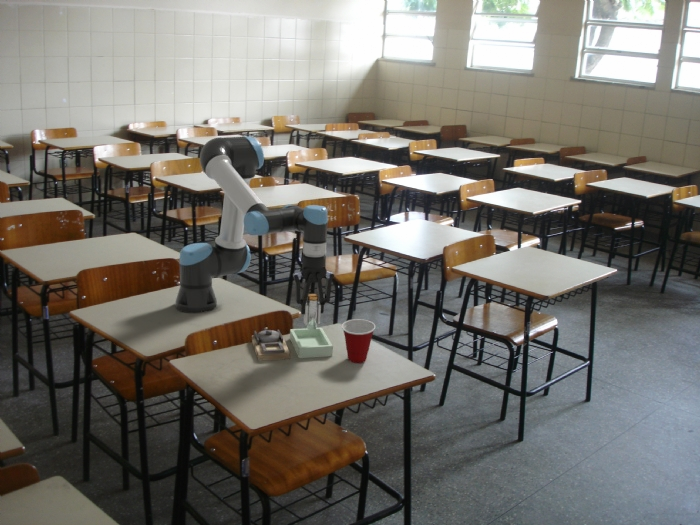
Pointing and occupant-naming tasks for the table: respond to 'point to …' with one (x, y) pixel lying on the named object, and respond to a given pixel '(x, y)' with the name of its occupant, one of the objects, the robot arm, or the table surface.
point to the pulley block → (270, 345)
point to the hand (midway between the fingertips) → (311, 322)
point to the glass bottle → (312, 311)
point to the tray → (311, 343)
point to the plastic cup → (358, 338)
